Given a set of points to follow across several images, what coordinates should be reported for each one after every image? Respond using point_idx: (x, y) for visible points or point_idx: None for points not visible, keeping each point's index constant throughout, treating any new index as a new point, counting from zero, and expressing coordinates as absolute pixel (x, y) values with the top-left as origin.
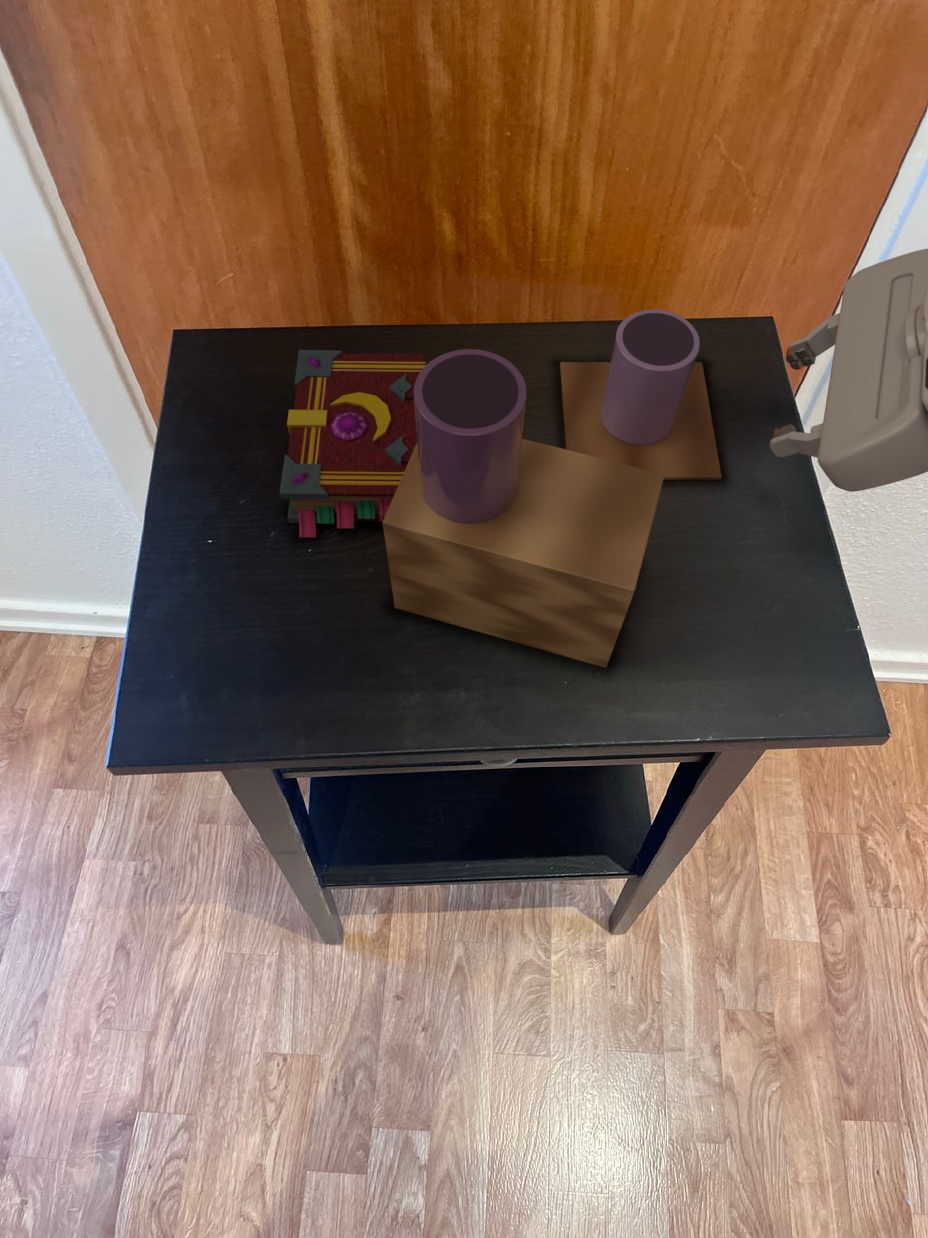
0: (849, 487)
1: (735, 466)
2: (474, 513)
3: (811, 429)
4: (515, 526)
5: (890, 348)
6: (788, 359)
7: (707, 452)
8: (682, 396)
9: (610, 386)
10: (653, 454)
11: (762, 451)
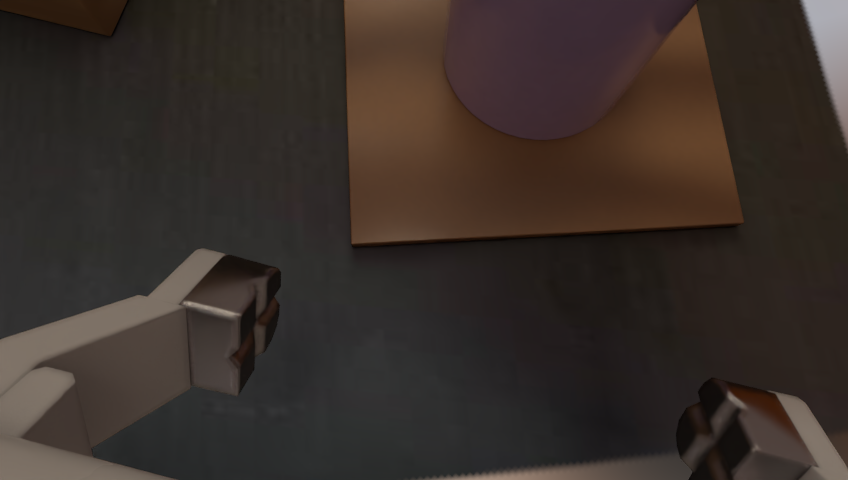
0: None
1: (400, 290)
2: None
3: (50, 372)
4: None
5: None
6: (705, 389)
7: (431, 214)
8: (519, 51)
9: None
10: (416, 86)
11: (456, 369)
